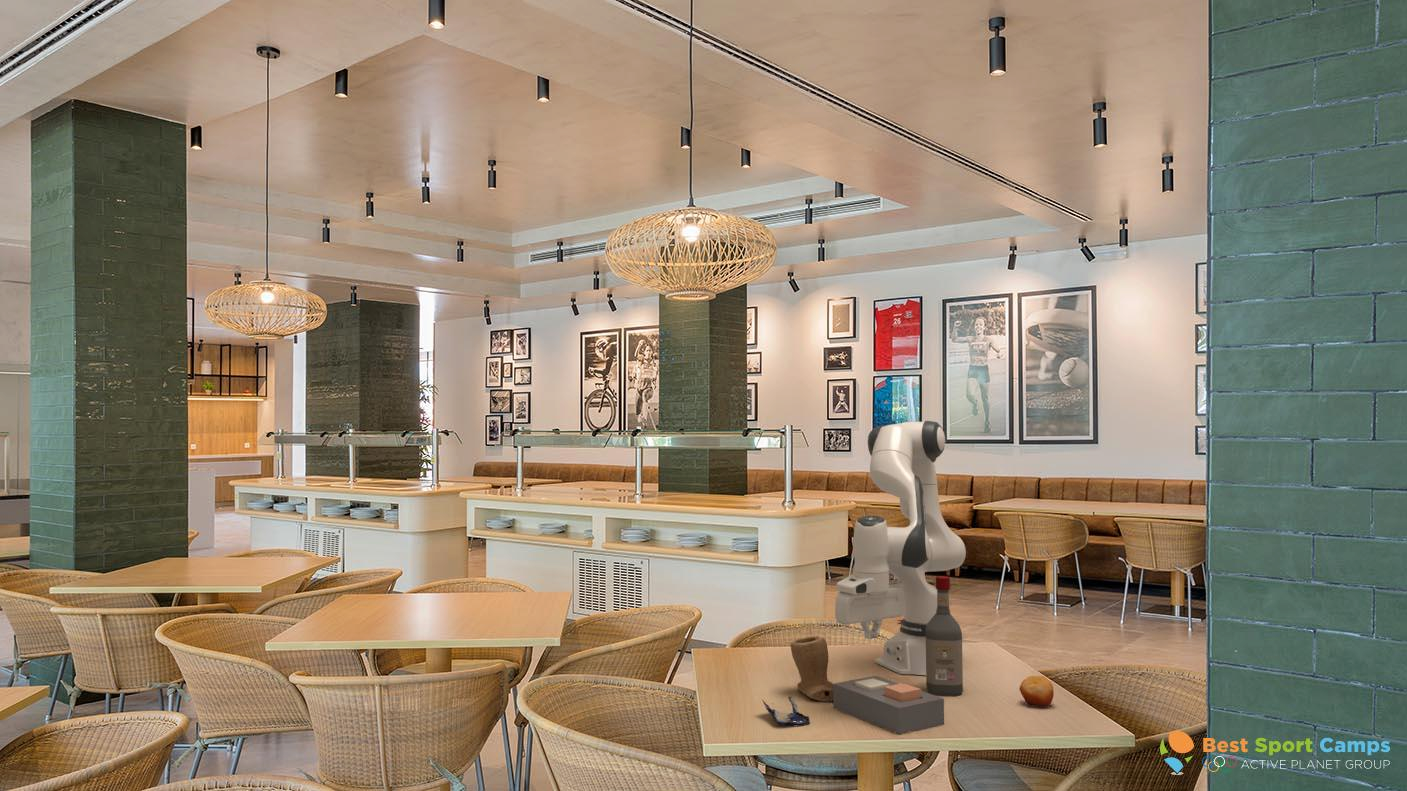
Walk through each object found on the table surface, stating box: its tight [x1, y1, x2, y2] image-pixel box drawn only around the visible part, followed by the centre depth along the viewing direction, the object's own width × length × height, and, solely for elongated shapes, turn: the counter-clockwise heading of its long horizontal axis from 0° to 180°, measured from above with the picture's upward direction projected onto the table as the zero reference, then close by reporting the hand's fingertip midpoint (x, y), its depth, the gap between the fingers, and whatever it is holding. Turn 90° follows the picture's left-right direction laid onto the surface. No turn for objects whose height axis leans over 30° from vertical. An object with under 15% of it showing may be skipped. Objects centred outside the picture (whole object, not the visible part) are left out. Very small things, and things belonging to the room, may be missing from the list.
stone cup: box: [790, 635, 834, 702], centre depth 248 cm, size 15×12×15 cm
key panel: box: [832, 675, 945, 735], centre depth 230 cm, size 24×14×6 cm, turn 31°
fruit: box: [1018, 675, 1055, 708], centre depth 239 cm, size 8×8×8 cm
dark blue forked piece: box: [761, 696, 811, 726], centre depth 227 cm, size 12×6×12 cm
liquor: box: [925, 575, 964, 697], centre depth 251 cm, size 9×9×30 cm
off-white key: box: [855, 678, 889, 691], centre depth 235 cm, size 6×6×3 cm
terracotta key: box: [884, 682, 922, 702], centre depth 226 cm, size 6×6×3 cm
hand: (871, 638), depth 236 cm, fingers closed
